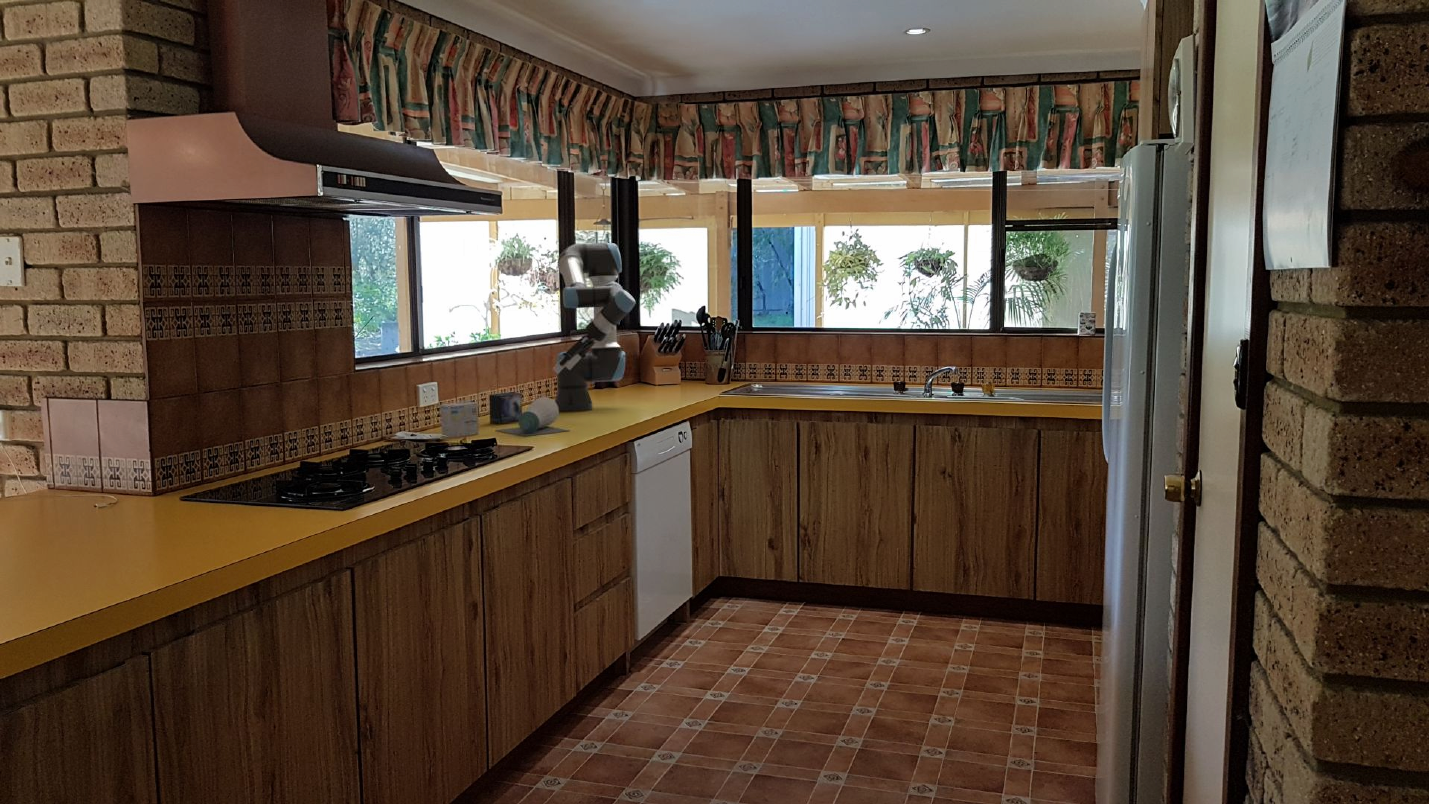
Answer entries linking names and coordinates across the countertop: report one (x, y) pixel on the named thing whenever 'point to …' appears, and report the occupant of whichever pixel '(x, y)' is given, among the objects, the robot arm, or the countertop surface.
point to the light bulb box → (459, 419)
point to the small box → (505, 407)
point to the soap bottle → (538, 415)
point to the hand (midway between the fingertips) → (561, 369)
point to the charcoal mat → (539, 431)
